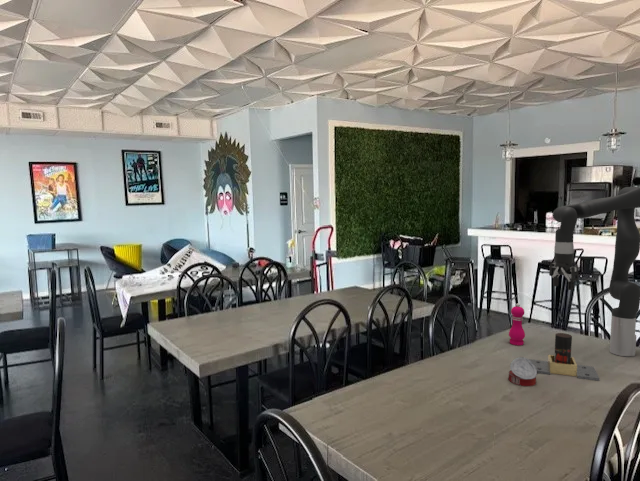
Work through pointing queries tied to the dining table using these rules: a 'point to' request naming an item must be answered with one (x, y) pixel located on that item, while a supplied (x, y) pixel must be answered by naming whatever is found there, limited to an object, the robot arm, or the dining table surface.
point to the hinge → (565, 368)
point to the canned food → (522, 372)
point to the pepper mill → (517, 326)
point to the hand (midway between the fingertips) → (562, 287)
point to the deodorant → (563, 348)
